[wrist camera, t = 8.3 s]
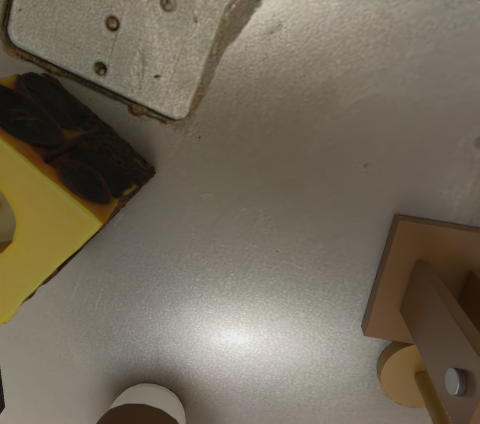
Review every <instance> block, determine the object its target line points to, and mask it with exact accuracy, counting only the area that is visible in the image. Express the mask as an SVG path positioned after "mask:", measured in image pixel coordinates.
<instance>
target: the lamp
mask: <svg viewBox="0 0 480 424" xmlns="http://www.w3.org/2000/svg"><path fill="white" fill-rule="evenodd" d="M377 373H378V377H379V380H380V383H381V387H382V389H383V391H384V392H385V394H386V395H387V396H388V397H389V398H390V399H392V400H393V401H395V402H396V403H398V404H401V405H404V406H407V407H413V408H424V407H426V408H427V410H428V412H429V415H430V417H431V419H432V422H433V424H452V422H451V420H450V418H449V416H448V414H447V412H446V409H445V407H444V405H443V403H442V400H441V398H440V396H439V394H438V392H437V390H436V387H435V385H434V383H433V381H432V379H431V377H430V375H429V373H428V370H427V368H426V366H425V364H424V362H423V360H422V358H421V356H420V353H419V351H418V349H417V347H416V345H415V344H411V343H405V342H399V341H395V342H393V343H392V344H390V345H389V346H388V347H387V348H386V349H385V350H384V351H383V353H382V354H381V356H380V358H379V360H378V364H377Z"/></svg>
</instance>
